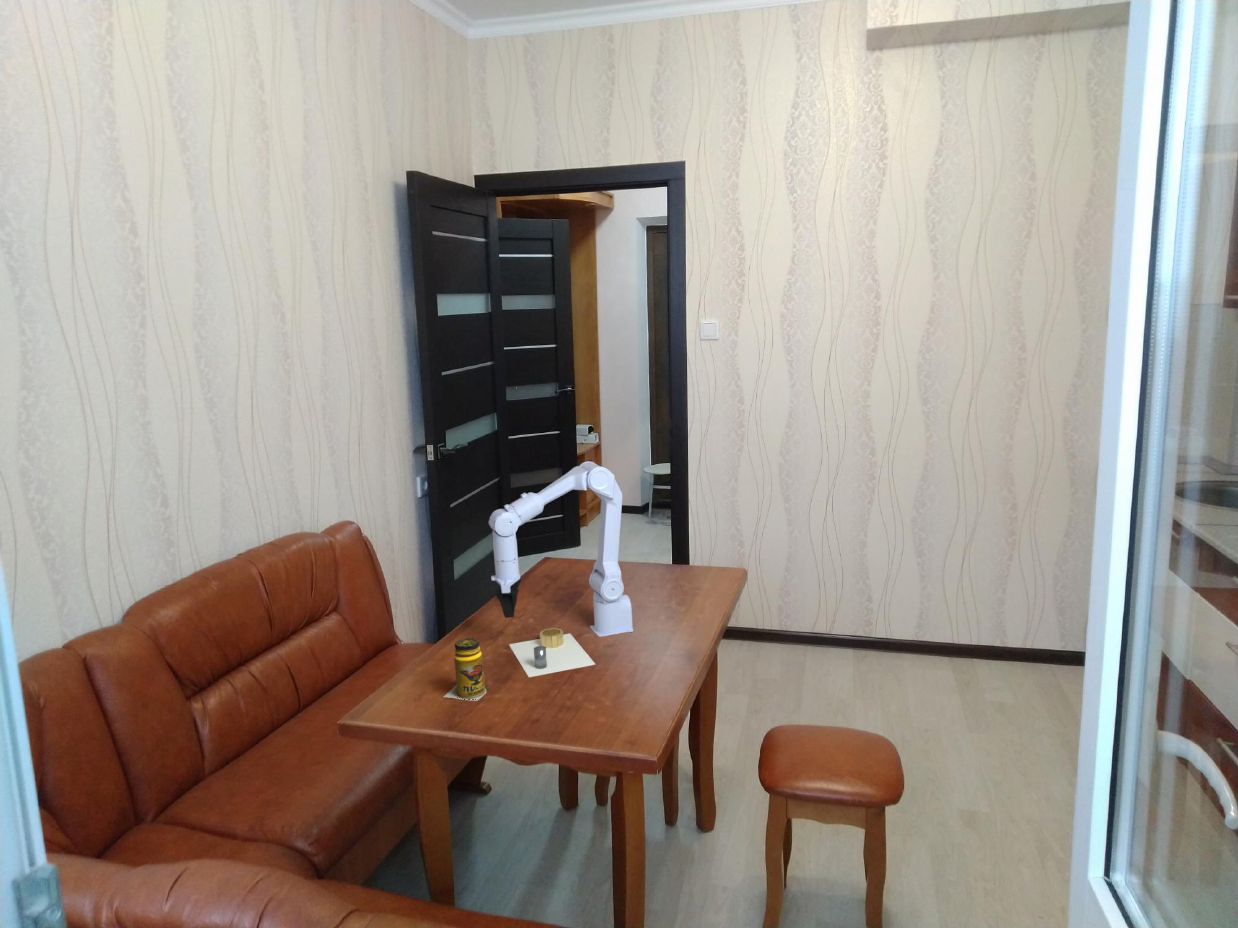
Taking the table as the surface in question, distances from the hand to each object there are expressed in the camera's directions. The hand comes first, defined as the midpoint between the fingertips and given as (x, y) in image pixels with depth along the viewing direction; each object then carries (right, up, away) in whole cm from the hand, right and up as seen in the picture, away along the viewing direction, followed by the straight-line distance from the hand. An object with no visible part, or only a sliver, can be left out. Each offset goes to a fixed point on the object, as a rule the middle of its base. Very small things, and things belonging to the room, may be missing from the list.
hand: (510, 611), depth 209 cm
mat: (+10, -10, -4) cm, 15 cm away
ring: (+10, -8, +3) cm, 13 cm away
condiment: (-7, -15, -21) cm, 26 cm away
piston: (+8, -12, -10) cm, 18 cm away
